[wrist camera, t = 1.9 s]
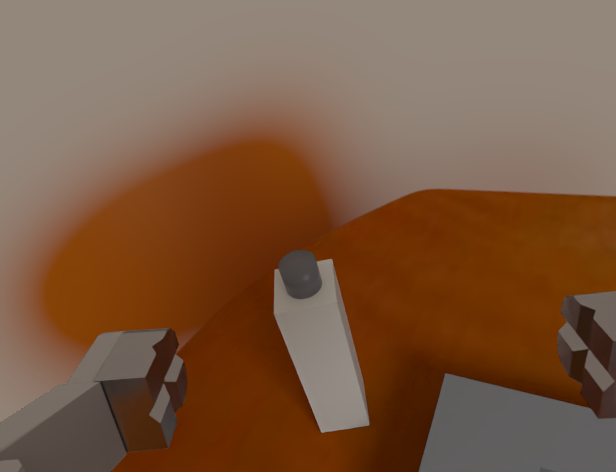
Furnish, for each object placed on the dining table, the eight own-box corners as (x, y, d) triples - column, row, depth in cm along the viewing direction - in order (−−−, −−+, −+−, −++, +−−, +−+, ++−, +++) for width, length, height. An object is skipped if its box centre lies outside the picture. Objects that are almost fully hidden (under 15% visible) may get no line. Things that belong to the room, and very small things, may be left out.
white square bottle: (318, 389, 43) (266, 248, 32) (363, 382, 42) (326, 236, 32) (321, 432, 40) (265, 292, 29) (369, 425, 39) (330, 280, 29)
